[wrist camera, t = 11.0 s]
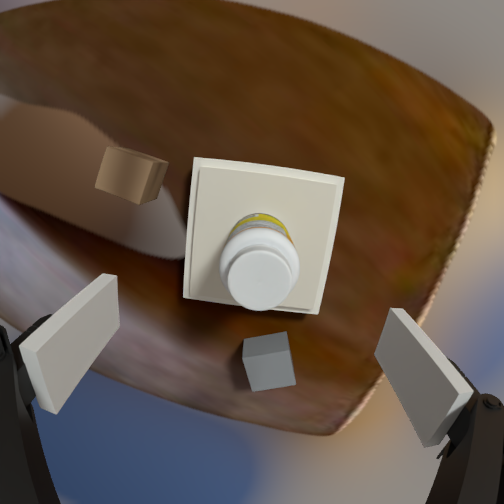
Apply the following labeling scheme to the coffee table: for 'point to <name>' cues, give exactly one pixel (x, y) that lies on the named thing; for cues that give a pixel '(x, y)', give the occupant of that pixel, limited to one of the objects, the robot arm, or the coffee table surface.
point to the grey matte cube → (268, 361)
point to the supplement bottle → (259, 262)
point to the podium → (268, 202)
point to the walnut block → (131, 175)
